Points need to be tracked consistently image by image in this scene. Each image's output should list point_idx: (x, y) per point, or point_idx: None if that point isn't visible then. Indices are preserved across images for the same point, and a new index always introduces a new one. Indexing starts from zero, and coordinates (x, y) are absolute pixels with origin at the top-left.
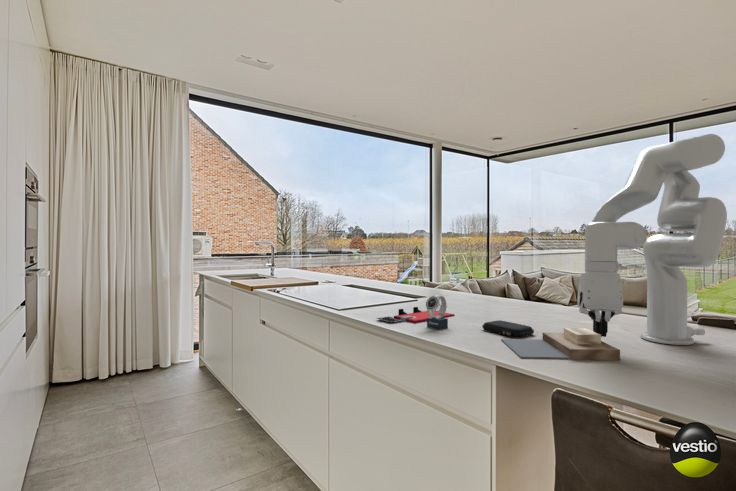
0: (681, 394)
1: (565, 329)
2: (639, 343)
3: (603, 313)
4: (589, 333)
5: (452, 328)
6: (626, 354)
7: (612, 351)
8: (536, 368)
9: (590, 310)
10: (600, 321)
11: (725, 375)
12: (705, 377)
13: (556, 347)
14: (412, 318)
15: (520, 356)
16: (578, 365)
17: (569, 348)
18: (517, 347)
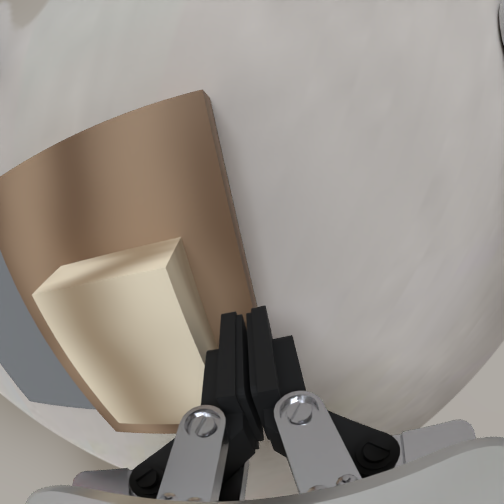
0: (293, 486)
1: (45, 313)
2: (479, 105)
3: (312, 460)
4: (174, 406)
5: None
6: (342, 324)
7: None
8: (79, 442)
9: (164, 496)
10: (251, 439)
11: (445, 402)
12: (399, 428)
13: None
14: None
15: (28, 398)
16: (148, 437)
17: (113, 427)
18: None
